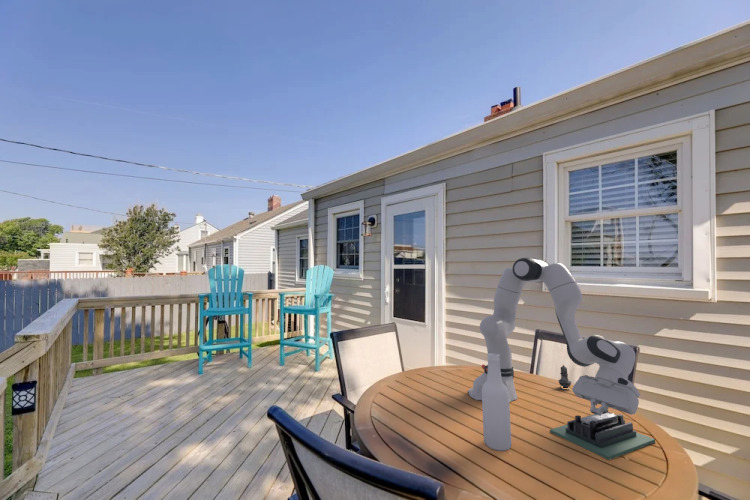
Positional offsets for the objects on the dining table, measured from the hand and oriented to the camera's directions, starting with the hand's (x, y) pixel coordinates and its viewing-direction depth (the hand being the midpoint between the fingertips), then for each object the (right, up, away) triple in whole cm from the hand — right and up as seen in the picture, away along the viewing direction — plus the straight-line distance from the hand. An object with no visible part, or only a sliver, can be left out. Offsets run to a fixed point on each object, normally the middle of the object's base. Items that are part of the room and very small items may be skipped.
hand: (595, 413), depth 111 cm
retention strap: (+2, -3, 0) cm, 3 cm away
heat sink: (+2, -8, 0) cm, 8 cm away
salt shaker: (+20, -14, +51) cm, 56 cm away
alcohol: (-37, -8, -5) cm, 38 cm away
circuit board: (+2, -8, 0) cm, 8 cm away
